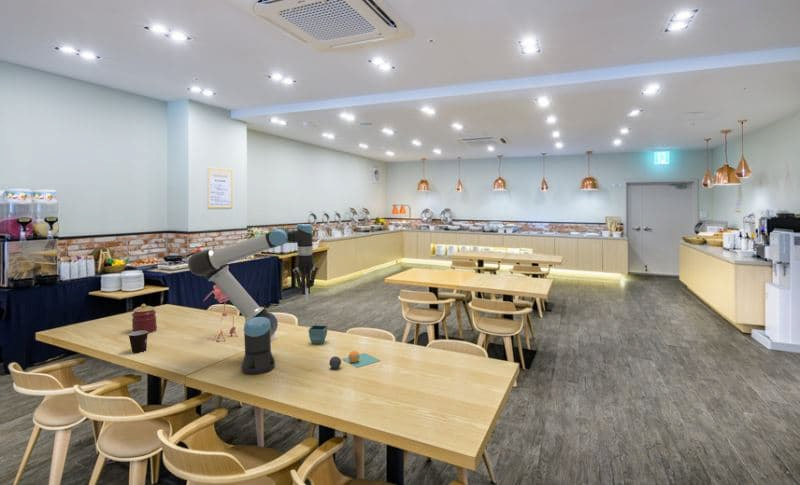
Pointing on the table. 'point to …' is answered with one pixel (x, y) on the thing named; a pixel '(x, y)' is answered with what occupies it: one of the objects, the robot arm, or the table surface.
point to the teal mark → (362, 360)
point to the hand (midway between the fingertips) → (306, 300)
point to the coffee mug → (138, 341)
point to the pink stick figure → (222, 296)
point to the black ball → (335, 362)
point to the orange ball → (354, 356)
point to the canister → (144, 319)
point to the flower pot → (317, 334)
